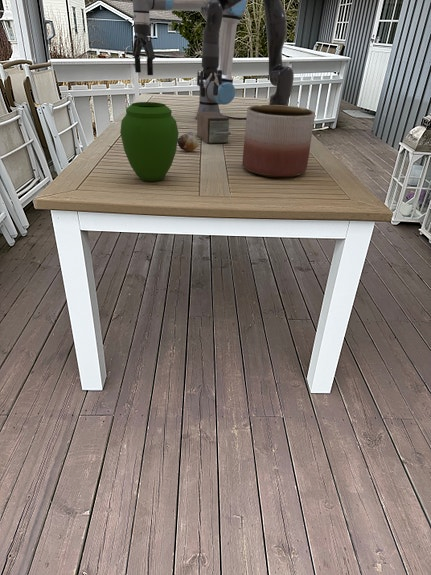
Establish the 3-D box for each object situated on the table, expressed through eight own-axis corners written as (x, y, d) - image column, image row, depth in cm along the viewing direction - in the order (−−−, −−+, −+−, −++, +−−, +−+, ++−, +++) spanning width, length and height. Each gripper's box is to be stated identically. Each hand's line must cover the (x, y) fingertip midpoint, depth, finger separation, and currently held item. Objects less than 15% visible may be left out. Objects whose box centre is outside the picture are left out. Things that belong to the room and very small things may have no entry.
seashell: (198, 149, 184) (198, 131, 180) (199, 152, 180) (199, 133, 175) (176, 149, 183) (176, 130, 179) (177, 152, 178) (177, 133, 174)
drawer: (231, 144, 193) (233, 123, 187) (213, 145, 190) (214, 123, 185) (217, 134, 210) (217, 114, 205) (199, 134, 207) (200, 114, 202)
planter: (315, 179, 154) (326, 116, 142) (250, 180, 150) (256, 115, 138) (293, 161, 175) (302, 105, 163) (236, 161, 171) (240, 103, 159)
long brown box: (227, 142, 199) (229, 118, 193) (207, 143, 196) (208, 118, 190) (216, 134, 213) (217, 111, 207) (197, 135, 210) (197, 111, 204)
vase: (131, 189, 135) (125, 110, 122) (118, 172, 150) (112, 100, 137) (186, 184, 142) (187, 109, 129) (169, 168, 157) (167, 99, 144)
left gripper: (123, 23, 202) (126, 71, 213) (146, 24, 185) (148, 76, 196) (137, 23, 206) (139, 71, 217) (161, 24, 189) (162, 76, 200)
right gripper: (206, 56, 171) (204, 98, 180) (227, 55, 180) (225, 95, 189) (193, 54, 175) (192, 96, 184) (214, 54, 184) (213, 93, 193)
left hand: (144, 73), depth 207 cm, fingers open, 13 cm apart
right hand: (209, 96), depth 186 cm, fingers open, 8 cm apart
